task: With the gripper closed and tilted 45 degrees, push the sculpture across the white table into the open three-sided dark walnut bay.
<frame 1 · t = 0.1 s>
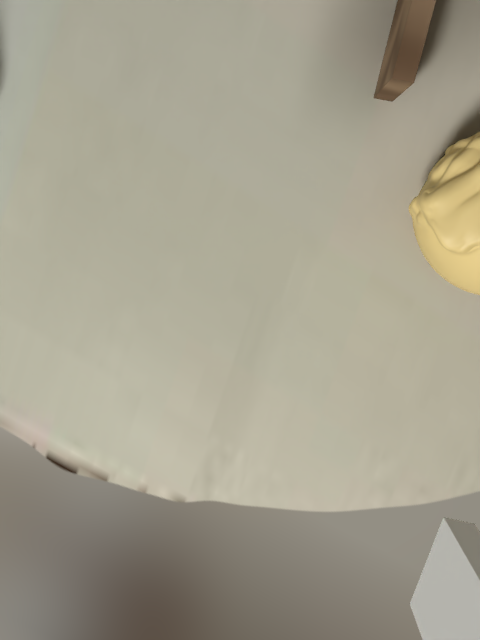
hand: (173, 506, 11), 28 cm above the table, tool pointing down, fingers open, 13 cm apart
sculpture: (468, 212, 35), on the table
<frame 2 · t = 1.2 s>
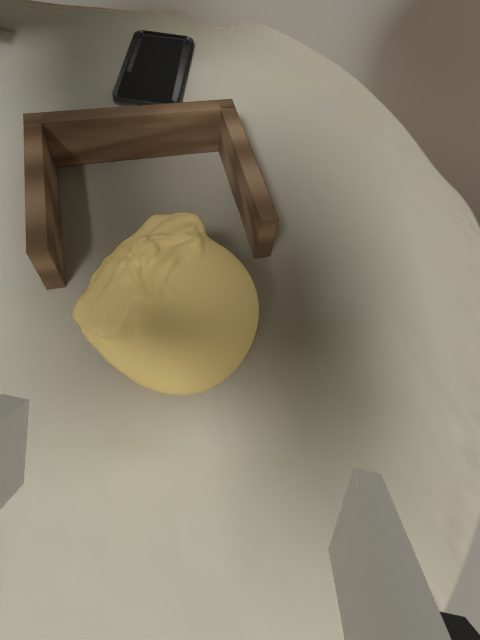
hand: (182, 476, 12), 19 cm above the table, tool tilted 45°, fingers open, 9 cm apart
sculpture: (178, 341, 35), on the table
phone: (155, 75, 53), on the table
bay: (151, 210, 41), on the table
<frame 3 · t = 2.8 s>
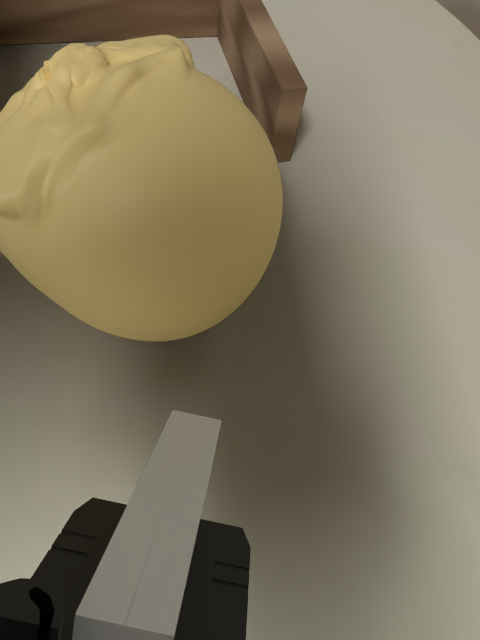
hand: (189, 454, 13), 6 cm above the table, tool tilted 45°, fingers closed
sculpture: (155, 270, 23), on the table
bay: (122, 100, 29), on the table
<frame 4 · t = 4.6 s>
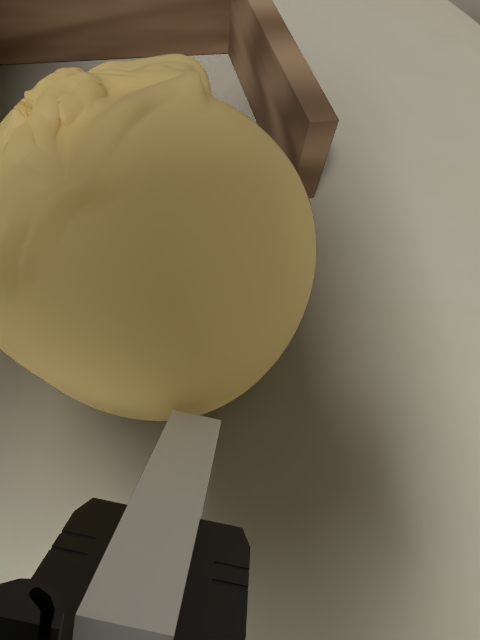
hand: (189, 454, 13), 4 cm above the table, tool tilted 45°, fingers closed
sculpture: (161, 320, 20), on the table, touching gripper
bay: (123, 128, 26), on the table
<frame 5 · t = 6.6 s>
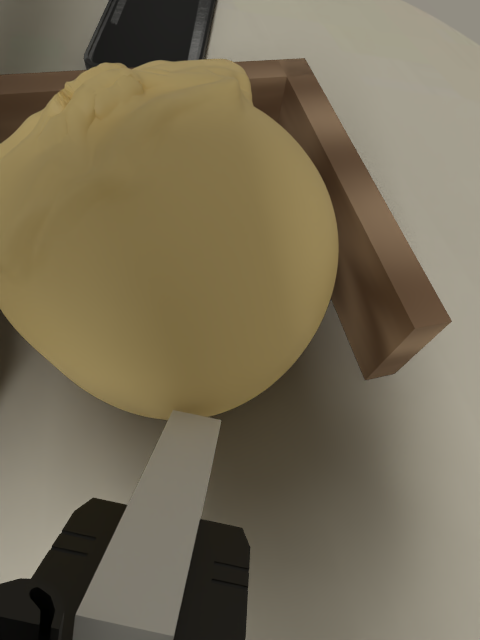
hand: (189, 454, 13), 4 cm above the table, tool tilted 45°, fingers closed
sculpture: (178, 318, 20), on the table, touching gripper
phone: (158, 33, 33), on the table
bay: (151, 276, 21), on the table
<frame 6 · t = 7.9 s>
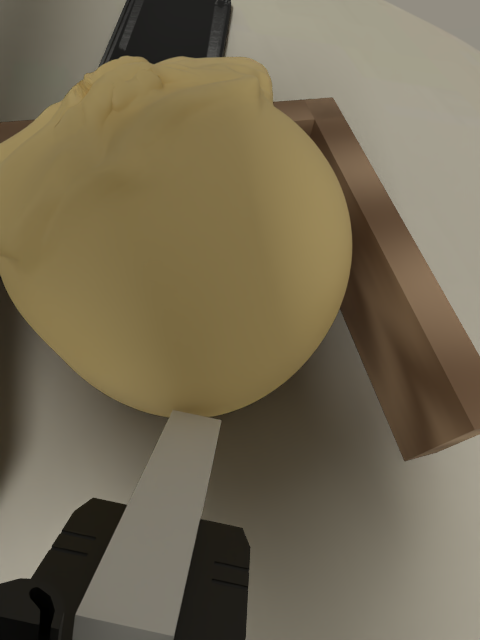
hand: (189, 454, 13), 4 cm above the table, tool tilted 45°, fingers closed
sculpture: (187, 316, 20), on the table, touching gripper
phone: (169, 57, 31), on the table
bay: (167, 339, 19), on the table
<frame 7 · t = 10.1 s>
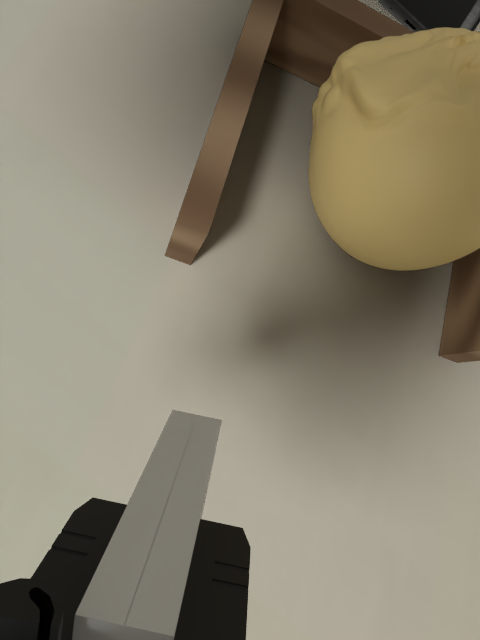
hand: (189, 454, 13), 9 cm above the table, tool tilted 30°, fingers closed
sculpture: (364, 199, 28), on the table
bay: (348, 206, 27), on the table
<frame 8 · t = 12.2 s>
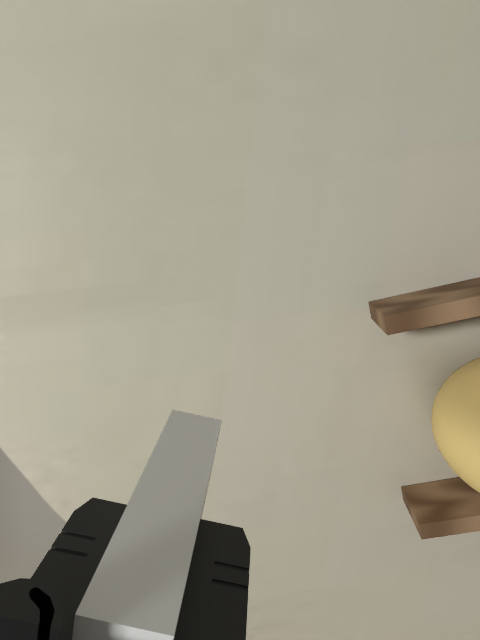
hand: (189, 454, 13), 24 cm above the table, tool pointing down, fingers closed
bay: (472, 390, 37), on the table
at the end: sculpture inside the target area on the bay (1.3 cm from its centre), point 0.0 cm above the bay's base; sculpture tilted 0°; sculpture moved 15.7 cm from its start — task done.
